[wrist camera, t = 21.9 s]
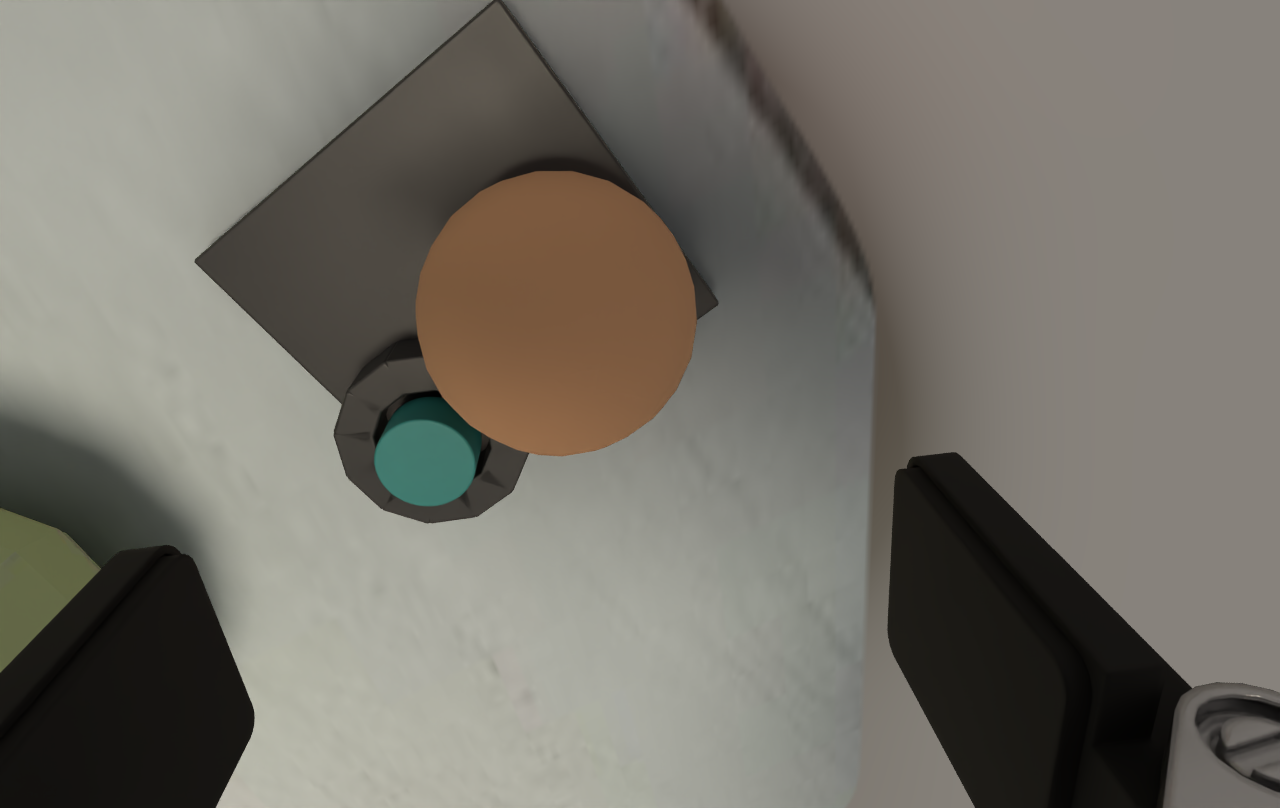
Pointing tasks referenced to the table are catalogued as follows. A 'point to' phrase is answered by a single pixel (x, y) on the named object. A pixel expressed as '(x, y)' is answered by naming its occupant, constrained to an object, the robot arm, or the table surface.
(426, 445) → the tare button
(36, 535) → the decorative sphere
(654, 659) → the table surface
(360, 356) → the dark grey flat block
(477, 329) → the egg
